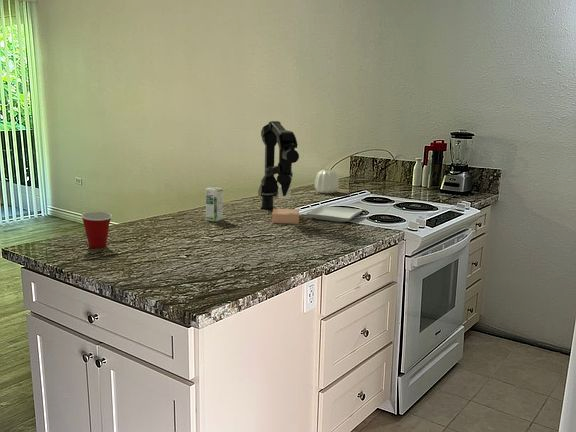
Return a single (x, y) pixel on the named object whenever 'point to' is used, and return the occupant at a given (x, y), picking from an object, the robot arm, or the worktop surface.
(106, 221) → the plastic cup
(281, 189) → the block
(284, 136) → the robot arm
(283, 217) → the stand
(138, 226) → the worktop surface
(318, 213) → the salad plate
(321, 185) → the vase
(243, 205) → the worktop surface
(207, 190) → the syrup box
